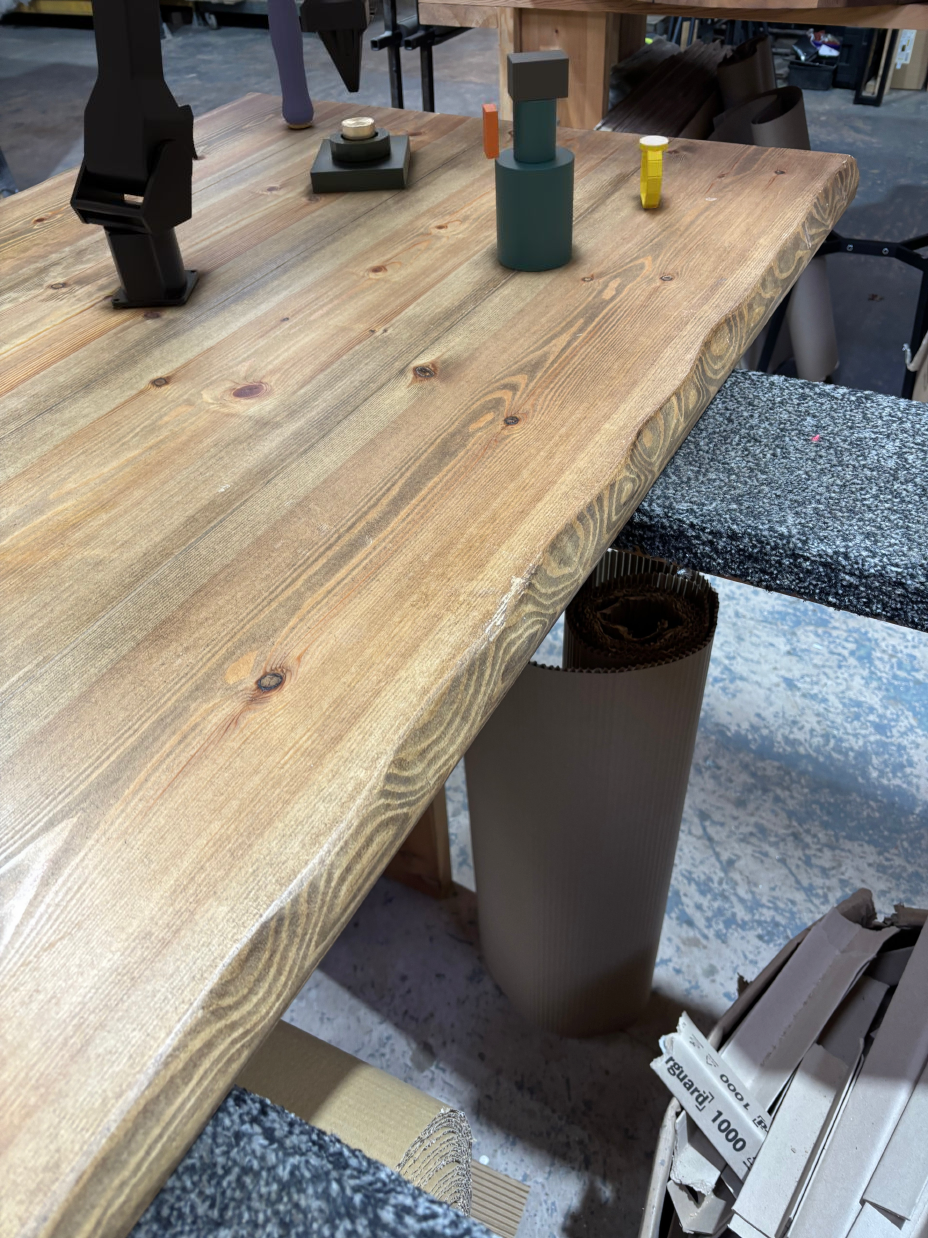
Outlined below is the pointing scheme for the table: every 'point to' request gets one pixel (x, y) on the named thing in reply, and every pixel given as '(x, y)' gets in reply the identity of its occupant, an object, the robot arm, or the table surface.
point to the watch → (651, 169)
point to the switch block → (361, 163)
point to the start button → (358, 129)
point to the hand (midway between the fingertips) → (354, 91)
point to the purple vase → (290, 62)
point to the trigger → (490, 130)
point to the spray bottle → (535, 168)
